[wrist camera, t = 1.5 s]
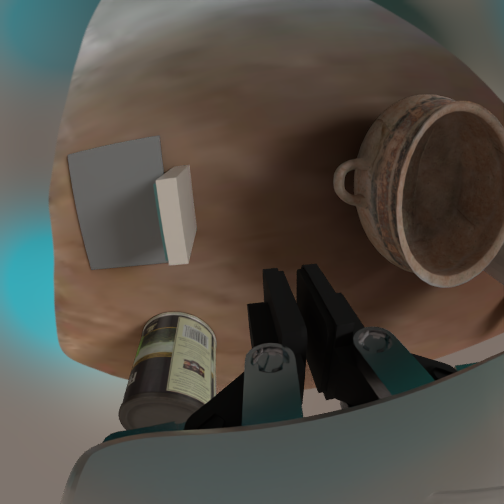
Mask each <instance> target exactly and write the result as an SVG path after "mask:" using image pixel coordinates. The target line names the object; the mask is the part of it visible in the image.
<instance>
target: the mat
mask: <svg viewBox="0 0 504 504" xmlns="http://www.w3.org/2000/svg"><path fill="white" fill-rule="evenodd" d="M68 163H69V170H70V176H71V182H72V188H73V194H74V199H75V204H76V209H77V214H78V219H79V223H80V228H81V232H82V236H83V240H84V244H85V248H86V252H87V256H88V259H89V263H90V266H91V270H95V269H105V268H116V267H127V266H137V265H148V264H158V263H169V261H166V259H165V254H164V248H163V243H162V237H161V232H160V226H159V220H158V214H157V207H156V200H155V194H154V186H153V184H154V183H155V182H156V180H157V179H158V178H159V177H161V176H162V175H163V174H164V171H163V163H162V154H161V144H160V136H153V137H148V138H142V139H136V140H131V141H126V142H121V143H116V144H111V145H106V146H102V147H98V148H93V149H89V150H85V151H81V152H77V153H73V154H69V155H68Z"/></svg>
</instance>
